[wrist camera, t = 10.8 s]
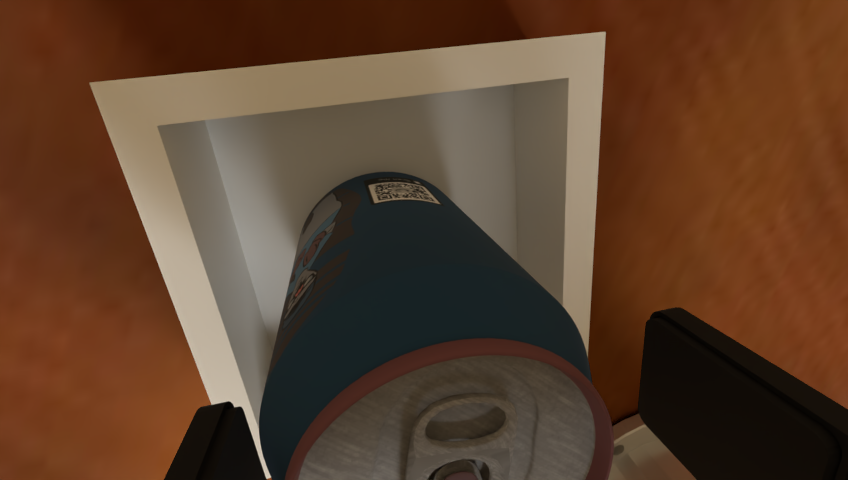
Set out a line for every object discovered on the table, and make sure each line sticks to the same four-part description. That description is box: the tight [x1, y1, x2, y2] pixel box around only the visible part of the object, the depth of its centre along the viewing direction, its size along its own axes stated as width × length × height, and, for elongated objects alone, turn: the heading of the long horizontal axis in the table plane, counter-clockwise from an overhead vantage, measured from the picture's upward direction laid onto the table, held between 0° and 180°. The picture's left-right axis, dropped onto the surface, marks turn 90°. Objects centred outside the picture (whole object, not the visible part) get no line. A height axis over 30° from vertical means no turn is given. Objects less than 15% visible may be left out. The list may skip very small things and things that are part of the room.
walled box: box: [90, 32, 606, 479], centre depth 16 cm, size 14×14×5 cm
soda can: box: [259, 172, 614, 480], centre depth 12 cm, size 7×7×12 cm
